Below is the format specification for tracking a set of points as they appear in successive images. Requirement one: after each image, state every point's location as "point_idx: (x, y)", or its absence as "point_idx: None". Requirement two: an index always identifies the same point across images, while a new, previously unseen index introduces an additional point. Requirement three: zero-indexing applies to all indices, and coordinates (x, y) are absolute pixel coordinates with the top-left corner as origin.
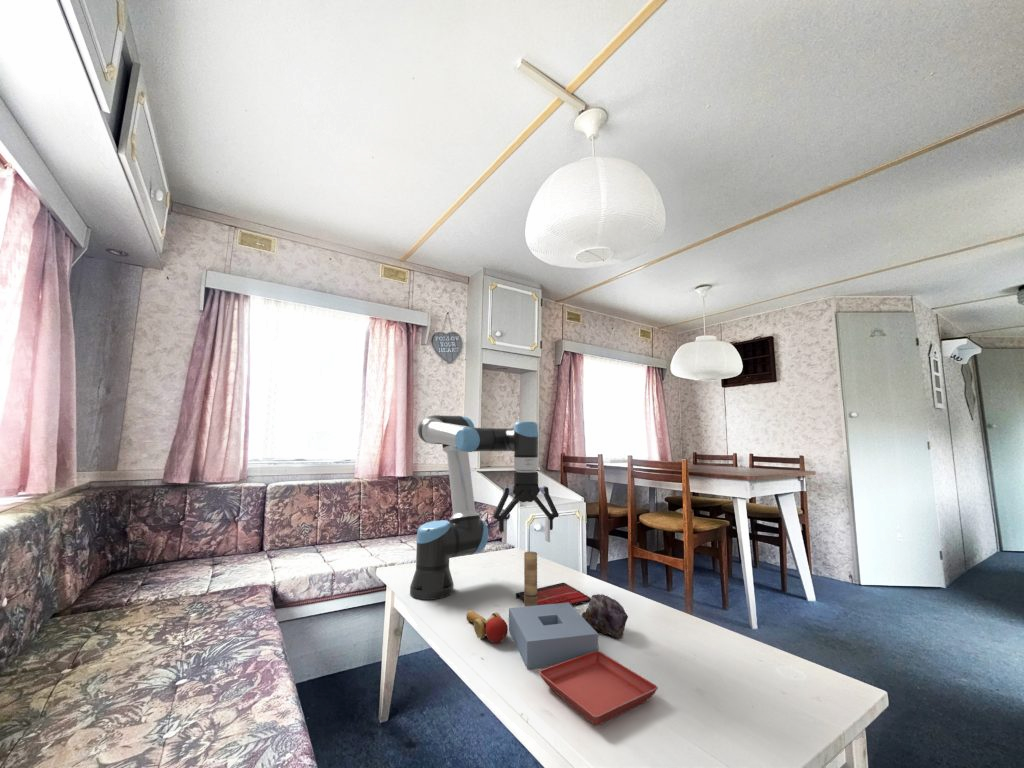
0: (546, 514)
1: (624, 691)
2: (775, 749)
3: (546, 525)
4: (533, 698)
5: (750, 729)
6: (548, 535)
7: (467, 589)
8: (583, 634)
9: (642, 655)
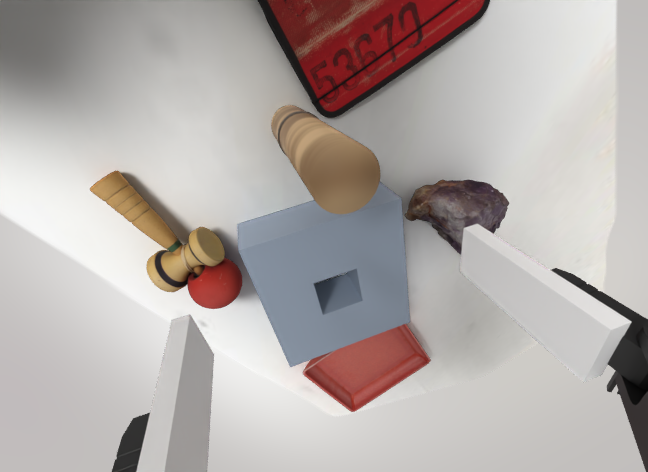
0: (633, 433)
1: (396, 350)
2: (472, 374)
3: (542, 321)
4: (292, 377)
5: (473, 361)
6: (491, 293)
7: None
8: (386, 328)
9: (455, 272)
